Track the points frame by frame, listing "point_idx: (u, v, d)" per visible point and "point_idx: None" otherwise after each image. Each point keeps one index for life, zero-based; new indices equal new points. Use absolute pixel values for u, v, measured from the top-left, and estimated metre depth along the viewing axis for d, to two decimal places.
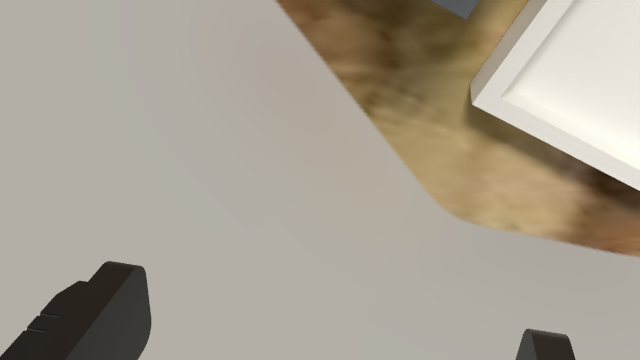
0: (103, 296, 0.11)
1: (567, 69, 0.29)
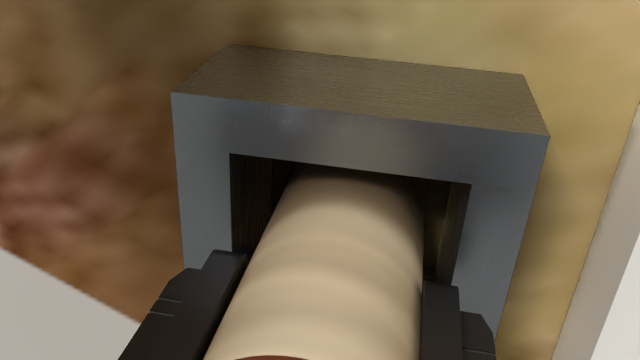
0: (220, 281, 0.11)
1: None
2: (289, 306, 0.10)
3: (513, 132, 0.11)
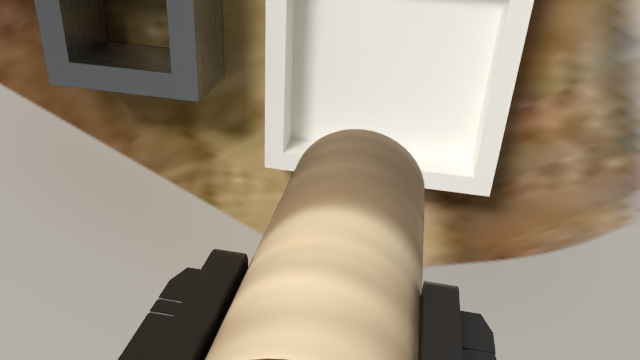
0: (220, 281, 0.11)
1: (340, 106, 0.31)
2: (289, 310, 0.10)
3: None
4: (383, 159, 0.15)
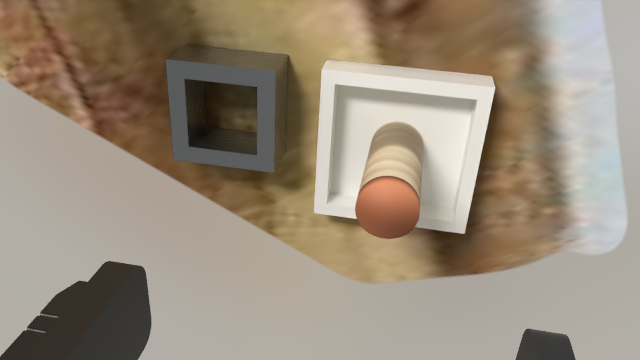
0: (103, 296, 0.11)
1: None
2: (387, 167, 0.36)
3: (265, 70, 0.39)
4: (408, 132, 0.42)
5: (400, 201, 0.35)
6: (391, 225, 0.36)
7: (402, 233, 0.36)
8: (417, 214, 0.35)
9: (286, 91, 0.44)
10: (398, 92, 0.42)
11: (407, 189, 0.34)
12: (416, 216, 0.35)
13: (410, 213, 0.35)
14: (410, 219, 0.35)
